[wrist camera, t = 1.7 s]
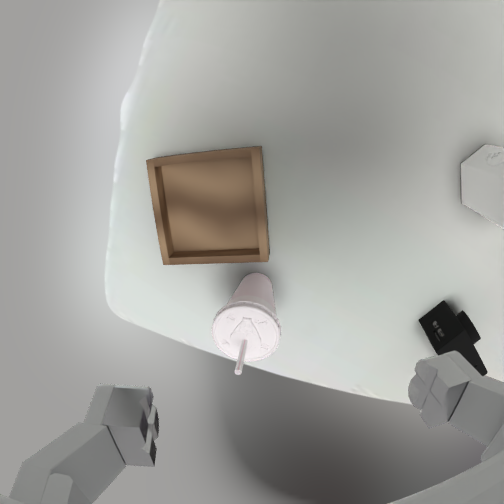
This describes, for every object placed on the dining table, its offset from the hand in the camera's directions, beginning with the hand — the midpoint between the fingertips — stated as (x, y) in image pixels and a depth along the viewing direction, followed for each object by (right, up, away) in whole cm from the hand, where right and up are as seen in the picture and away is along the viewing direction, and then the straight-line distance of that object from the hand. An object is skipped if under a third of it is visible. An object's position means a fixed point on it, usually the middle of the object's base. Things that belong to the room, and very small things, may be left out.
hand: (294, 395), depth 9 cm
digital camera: (+26, -6, +29) cm, 39 cm away
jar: (+26, +12, +21) cm, 36 cm away
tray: (-6, +9, +26) cm, 28 cm away
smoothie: (-1, 0, +29) cm, 29 cm away
